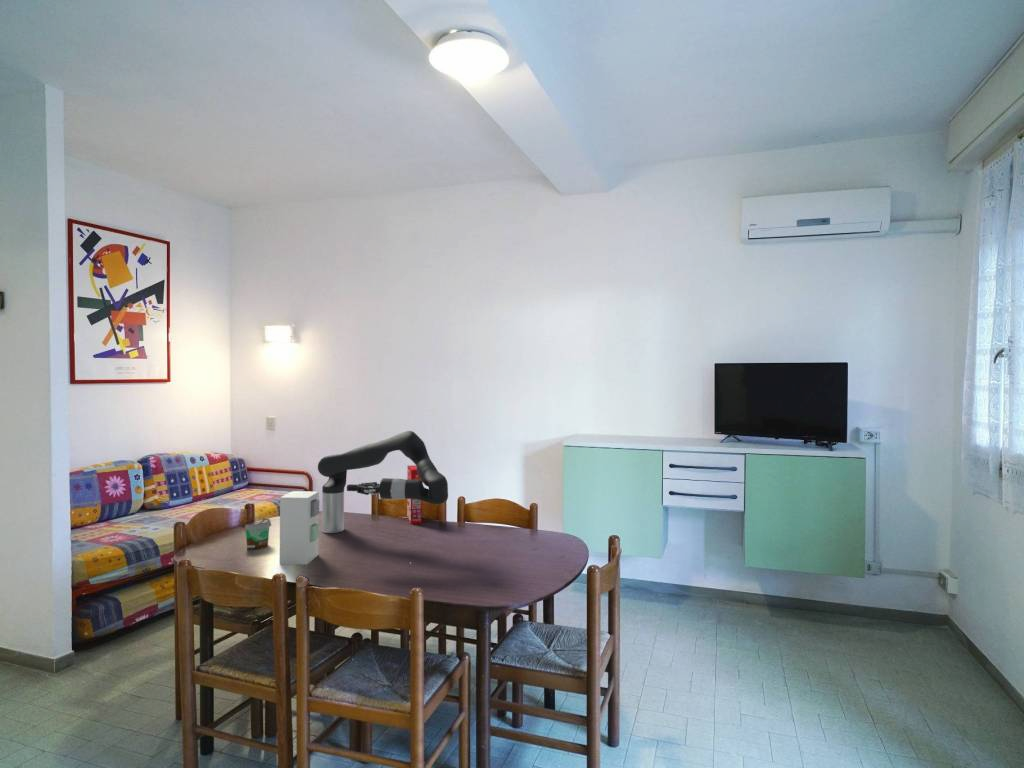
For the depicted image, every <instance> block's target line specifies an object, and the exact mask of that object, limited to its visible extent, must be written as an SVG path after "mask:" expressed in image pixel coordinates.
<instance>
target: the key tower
mask: <svg viewBox="0 0 1024 768" xmlns="http://www.w3.org/2000/svg"><path fill="white" fill-rule="evenodd" d="M319 493H320V492H319V491H309V490H308V491H301V490H300V491H297V490H296V491H295V490H293V491H290V492H288V493H286V494H284V495H282V496H280V498H279V565H308V564H310V563H311V562H312V561H313V560H314V559H315V558H317V557H318V555H319V538H318V539H317V540H315V541H310V526H312V525H313V524H319V514H320V513H319V514H318V515H316V516H315V517H314V516H311V501H313V500H319V501H320V496H319V495H320V494H319Z"/></svg>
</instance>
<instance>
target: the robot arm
mask: <svg viewBox="0 0 1024 768" xmlns="http://www.w3.org/2000/svg"><path fill="white" fill-rule="evenodd" d="M394 451H400V452H401V453H402V454H403V455H404V456H405V457H406V458H408V459H409V460H411V462H413V463H414V465H416V466H417V472H418V475H419V477H420V478H421V480H422V482H423V484H422V482H421V481H420V480H407V479H405V478H390V477H389V478H381V480H380V483H378V482H377V481H374V482H373V481H372V482H370V481H369V482H362V483H358V484H353V483H352V484H347V474H348V471H350V470H359V469H365V468H370V467H372V466H373V467H374V466H376V465H380V464H381V463H382V462H383V461H384V460H385V459H386V457H387V455H388V454H389V453H392V452H394ZM317 471H318V473H319V474H320V475H321V476H323V477H326V478H328V479H327V481H326V482H325V483H324V484H323V485H322V487H321V489H322V490H321V491H322V493H321V495H322V497H321V501H322V503H321V532H322V533H325V534H336V533H341V532H343V531H344V530H345V526H344V525H345V487H346V491H347V492H356V493H357V494H361V495H366V496H368V495H371V496H372V495H373V496H374V495H376V494H378V495H379V497H380V499H381V500H405V499H406V500H407V499H418V500H421V501H422V502H425V503H429V504H433V505H441V504H443V503H446V502H447V501H448V499H449V485H448V480H447V478H446V477H445V475H443V474H442V473H441V472H439V471H438V469H437V467H436V466H435V464H434V463H433V461H432V459H431V458H430V456H429V453H428V450H427V446H426V444H425V442H424V440H423V439H422V438H421V437H420V436H418V434H417V433H415V432H414V431H412V430H407V431H403V432H400V433H398V434H396V435H393V436H391V437H388V438H386V439H383V440H379V441H378V442H377V441H376V442H373V443H369V444H365V445H362V446H359V447H356V448H353V449H351V450H348V451H346V452H343V453H340V454H331V455H326V456H324V457H322V458H321V459H320V460H319V461H318V463H317ZM424 485H425V486H427V487H428V488H427V487H425V486H424Z"/></svg>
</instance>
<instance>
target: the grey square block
mask: <svg viewBox="0 0 1024 768" xmlns="http://www.w3.org/2000/svg"><path fill="white" fill-rule="evenodd" d="M318 514H320V499H319V500H313V501H311V516H314V517H315V516H316V515H318Z"/></svg>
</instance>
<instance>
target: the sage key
mask: <svg viewBox="0 0 1024 768" xmlns="http://www.w3.org/2000/svg"><path fill="white" fill-rule="evenodd" d="M319 537H320V524H319V523H318V524H313V525H312V526H310V541H315V540H317V539H318V540H319Z"/></svg>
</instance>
